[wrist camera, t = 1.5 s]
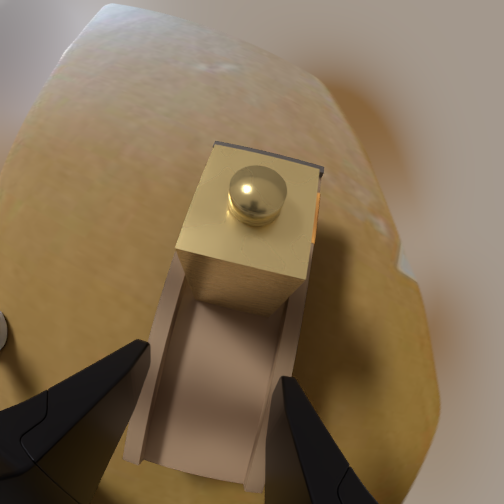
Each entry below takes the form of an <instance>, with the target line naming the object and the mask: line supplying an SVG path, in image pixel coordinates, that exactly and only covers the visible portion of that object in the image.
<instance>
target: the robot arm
mask: <svg viewBox="0 0 504 504" xmlns="http://www.w3.org/2000/svg"><path fill="white" fill-rule="evenodd" d="M150 363H151V346H150V343H148V342H146V341H143V340H140V339H136V340H134V341H133V342H131V343H129V344H127V345H126V346H124V347H122V348H120V349H119V350H117V351H115V352H113V353H112V354H110V355H108V356H106V357H104V358H103V359H101V360H99V361H97V362H96V363H94V364H92V365H90V366H89V367H87V368H85V369H83V370H81V371H80V372H78V373H76V374H74V375H72V376H71V377H69V378H67V379H65V380H63V381H62V382H60V383H58V384H56V385H54V386H53V387H51V388H49V389H48V390H45V391H43V392H41V393H40V394H38V395H36V396H34V397H32V398H30V399H28V400H26V401H24V402H21V403H19V404H17V405H14V406H12V407H9V408H7V409H4V410H1V411H0V504H90V502H91V500H92V498H93V496H94V494H95V491H96V489H97V487H98V485H99V483H100V480H101V478H102V476H103V474H104V472H105V470H106V468H107V465H108V463H109V461H110V459H111V457H112V455H113V453H114V451H115V449H116V447H117V444H118V442H119V440H120V438H121V436H122V434H123V432H124V430H125V428H126V426H127V424H128V422H129V420H130V418H131V416H132V414H133V412H134V410H135V407H136V404H137V402H138V399H139V396H140V393H141V390H142V387H143V385H144V382H145V379H146V376H147V374H148V371H149V368H150ZM265 504H379V503H378V502H377V501H376V500H375V499H374V498H373V496H372V495H371V494H370V493H369V492H368V490H367V489H366V488H365V486H364V485H363V484H362V482H361V481H360V479H359V478H358V477H357V475H356V474H355V472H354V471H353V469H352V467H349V463H348V462H347V460H346V458H345V457H344V455H343V454H342V452H341V451H340V449H339V448H338V446H337V444H336V443H335V441H334V440H333V438H332V437H331V435H330V433H329V432H328V430H327V429H326V427H325V426H324V424H323V422H322V421H321V419H320V418H319V416H318V414H317V413H316V411H315V410H314V408H313V406H312V405H311V403H310V401H309V400H308V398H307V397H306V395H305V393H304V392H303V390H302V388H301V387H300V385H299V383H298V382H297V380H296V379H295V378H294V377H289V376H281V377H280V378H279V380H278V382H277V385H276V387H275V389H274V391H273V394H272V398H271V405H270V413H269V420H268V427H267V434H266V445H265Z"/></svg>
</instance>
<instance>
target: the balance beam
mask: <svg viewBox="0 0 504 504" xmlns="http://www.w3.org/2000/svg"><path fill="white" fill-rule="evenodd" d="M215 144H216V145H221V146H226V147H231V148H236V149H241V150H246V151H250V152H255V153H259V154H263V155H267V156H272V157H276V158H280V159H284V160H288V161H291V162H295V163H299V164H303V165H306V166H310V167H313V168H317V169H320V170H319V180H318V190H317V199H316V208H315V216H314V225H313V232H312V240H311V247H310V255H309V261H308V268H307V275H306V280H305V281H304V282H303V283H302V284H301V285H300V286H299V287H298V288H297V289H296V290H295V291H294V292H293V293H292V294H291V295H290V296H289V297H288V299H287V300H286V301H285V302H284V303H283V304H282V305H281V306H280V307H279V308H278V309H277V310H276V311H275V312H274V313H273V314H272V315H271V316H270V317H264V316H260V315H255V314H251V313H247V312H242V311H238V310H234V309H230V308H226V307H222V306H218V305H214V304H210V303H206V302H202V301H198V300H195V299H194V296H193V294H192V291H191V289H190V286H189V284H188V281H187V279H186V276H185V273H184V271H183V268H182V266H181V263H180V260H179V258H178V255H177V252H176V251H175V254H174V257H173V260H172V263H171V266H170V269H169V272H168V275H167V278H166V281H165V285H164V288H163V291H162V294H161V298H160V301H159V304H158V308H157V311H156V315H155V318H154V322H153V325H152V329H151V332H150V336H149V340H148V343H150V346H151V363H150V368H149V371H148V374H147V376H146V379H145V382H144V385H143V387H142V390H141V393H140V396H139V399H138V402H137V404H136V407H135V410H134V412H133V414H132V416H131V418H130V421H129V426H128V431H127V437H126V442H125V448H124V454H123V460H126V461H128V462H131V463H134V464H136V465H139V464H140V463H141V462H142V461H143V460H147V461H150V462H153V463H156V464H159V465H162V466H165V467H169V468H172V469H176V470H179V471H183V472H187V473H191V474H195V475H199V476H204V477H208V478H213V479H218V480H224V481H229V482H235V483H242V484H243V485H244V490H245V491H247V492H255V493H262V491H263V488H264V485H265V445H266V434H267V427H268V420H269V413H270V405H271V398H272V394H273V391H274V389H275V387H276V385H277V382H278V380H279V378H280V377H281V376H289V377H291V376H292V371H293V366H294V361H295V356H296V351H297V346H298V341H299V335H300V330H301V324H302V318H303V313H304V307H305V301H306V294H307V288H308V282H309V275H310V268H311V261H312V254H313V246H314V244H315V238H316V230H317V221H318V213H319V203H320V185H321V177H322V175H323V173H324V167H323V166H319V165H316V164H312V163H309V162H305V161H301V160H298V159H294V158H290V157H286V156H282V155H278V154H274V153H270V152H266V151H262V150H257V149H253V148H248V147H244V146H239V145H234V144H229V143H224V142H219V141H215V143H214V145H215ZM214 145H213V148H214Z"/></svg>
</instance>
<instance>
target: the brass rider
mask: <svg viewBox="0 0 504 504" xmlns="http://www.w3.org/2000/svg"><path fill="white" fill-rule="evenodd" d="M319 170H320V169H317V168H313V167H310V166H306V165H303V164H299V163H295V162H291V161H288V160H284V159H280V158H276V157H272V156H267V155H263V154H259V153H255V152H250V151H246V150H241V149H236V148H231V147H226V146H221V145H216V144H215V145H214V148H213V150H212V152H211V155H210V157H209V160H208V162H207V164H206V167H205V169H204V172H203V174H202V177H201V179H200V182H199V184H198V187H197V189H196V192H195V195H194V197H193V200H192V202H191V205H190V208H189V210H188V213H187V216H186V218H185V221H184V224H183V227H182V229H181V232H180V235H179V238H178V241H177V244H176V247H175V249H176V252H177V255H178V258H179V260H180V263H181V266H182V268H183V271H184V273H185V276H186V279H187V281H188V284H189V286H190V289H191V291H192V294H193V296H194V299H195V300H198V301H202V302H206V303H210V304H214V305H218V306H222V307H226V308H230V309H234V310H238V311H242V312H247V313H251V314H255V315H260V316H264V317H270V316H271V315H272V314H273V313H274V312H275V311H276V310H277V309H278V308H279V307H280V306H281V305H282V304H283V303H284V302H285V301H286V300H287V299H288V297H289V296H290V295H291V294H292V293H293V292H294V291H295V290H296V289H297V288H298V287H299V286H300V285H301V284H302V283H303V282H304V281H305V280H306V275H307V268H308V261H309V255H310V247H311V240H312V232H313V225H314V216H315V208H316V199H317V190H318V180H319Z"/></svg>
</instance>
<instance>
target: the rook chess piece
mask: <svg viewBox="0 0 504 504" xmlns="http://www.w3.org/2000/svg"><path fill="white" fill-rule="evenodd" d="M6 339H7V324H6V321H5V319H4V316H3V314H2V312H1V311H0V350H1V348H2V347H3V346H4V345H5V342H6Z"/></svg>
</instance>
